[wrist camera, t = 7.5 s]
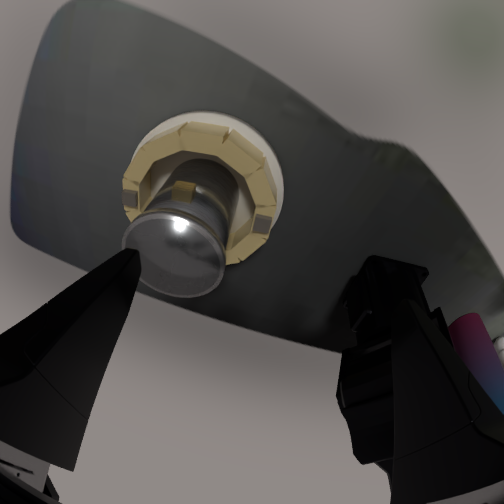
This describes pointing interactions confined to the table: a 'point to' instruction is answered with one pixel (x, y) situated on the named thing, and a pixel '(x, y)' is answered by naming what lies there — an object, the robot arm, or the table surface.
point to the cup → (479, 355)
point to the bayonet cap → (186, 229)
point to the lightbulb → (500, 349)
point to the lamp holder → (219, 150)
